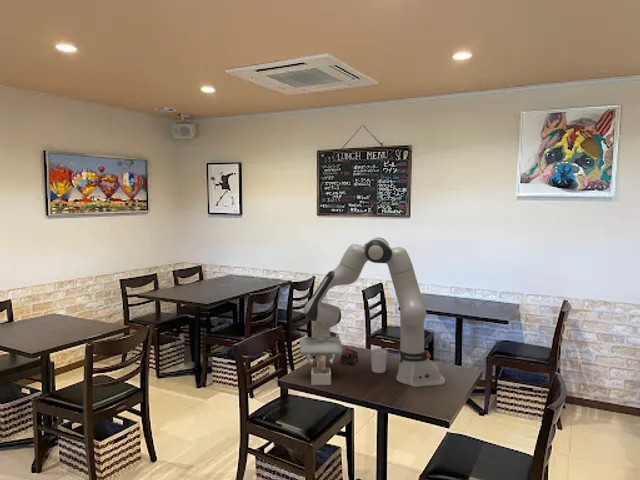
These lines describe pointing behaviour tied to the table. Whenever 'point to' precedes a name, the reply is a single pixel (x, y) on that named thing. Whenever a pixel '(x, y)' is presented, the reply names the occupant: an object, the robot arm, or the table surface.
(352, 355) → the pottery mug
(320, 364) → the peg
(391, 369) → the table surface
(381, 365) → the white cup
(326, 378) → the socket box
